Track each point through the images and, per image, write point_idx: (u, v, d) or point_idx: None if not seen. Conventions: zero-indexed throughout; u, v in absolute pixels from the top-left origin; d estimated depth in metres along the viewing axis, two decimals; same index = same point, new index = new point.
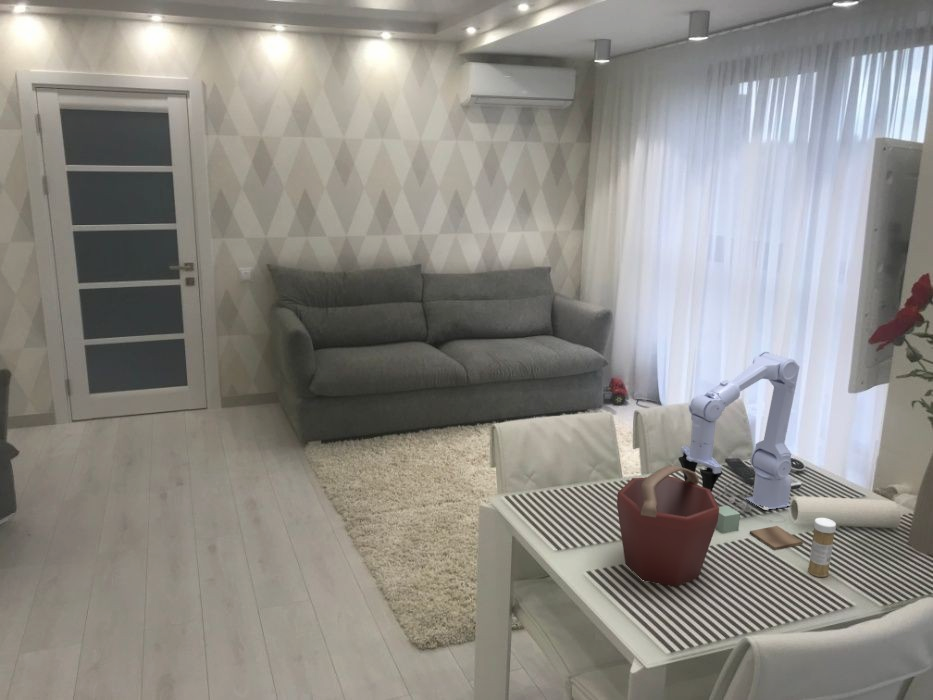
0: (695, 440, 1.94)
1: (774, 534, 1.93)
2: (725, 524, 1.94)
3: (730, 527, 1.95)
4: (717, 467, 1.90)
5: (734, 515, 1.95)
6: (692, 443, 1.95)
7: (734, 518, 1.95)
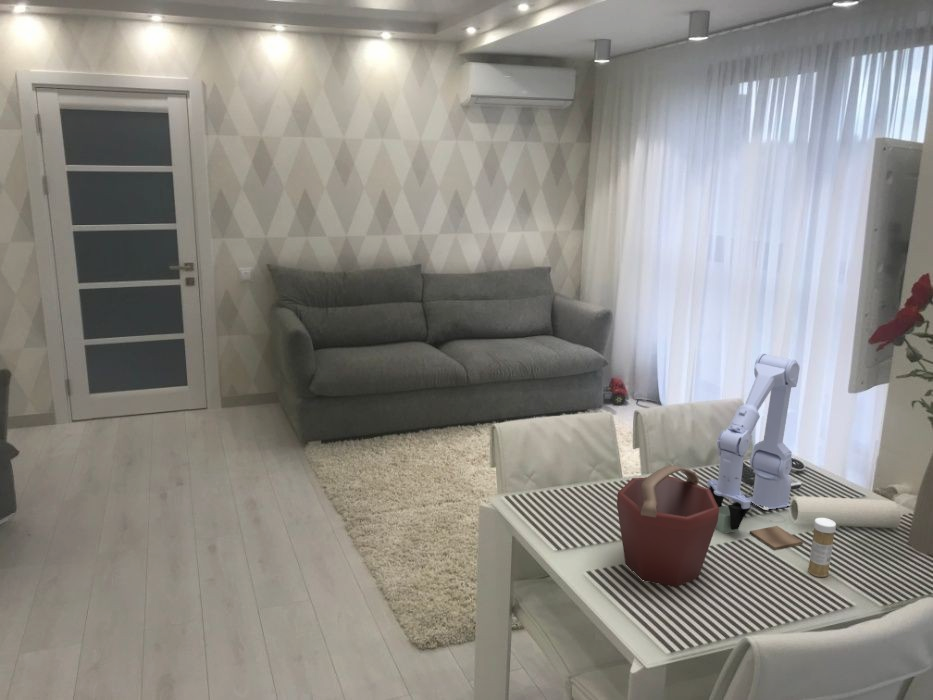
0: (726, 475, 1.92)
1: (774, 534, 1.93)
2: (725, 524, 1.94)
3: None
4: (746, 502, 1.88)
5: None
6: (720, 477, 1.93)
7: None
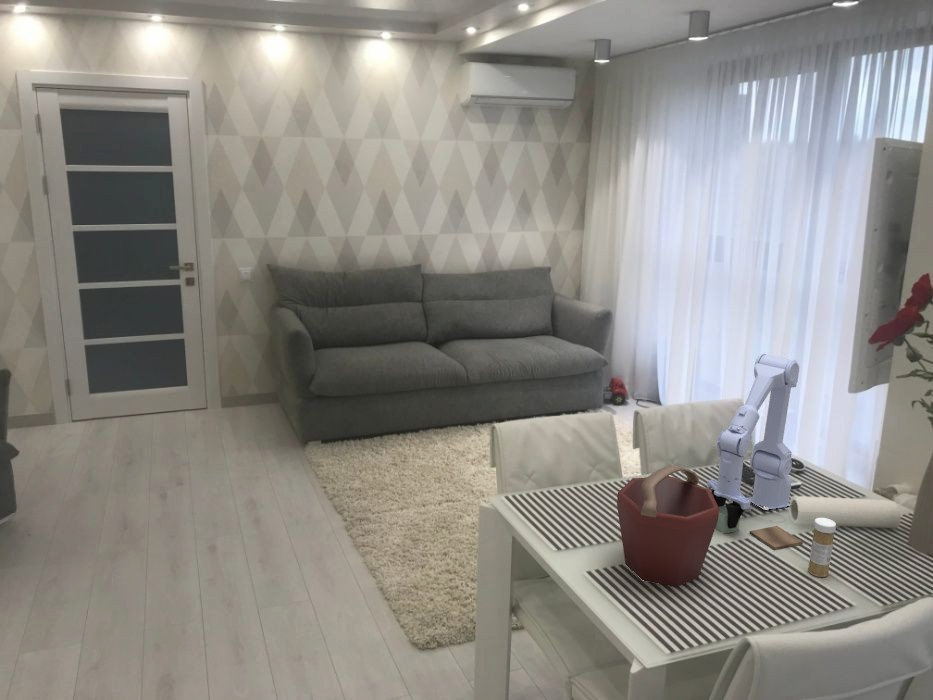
0: (726, 476, 1.92)
1: (774, 534, 1.93)
2: (726, 524, 1.94)
3: None
4: (746, 503, 1.88)
5: None
6: (720, 478, 1.93)
7: None
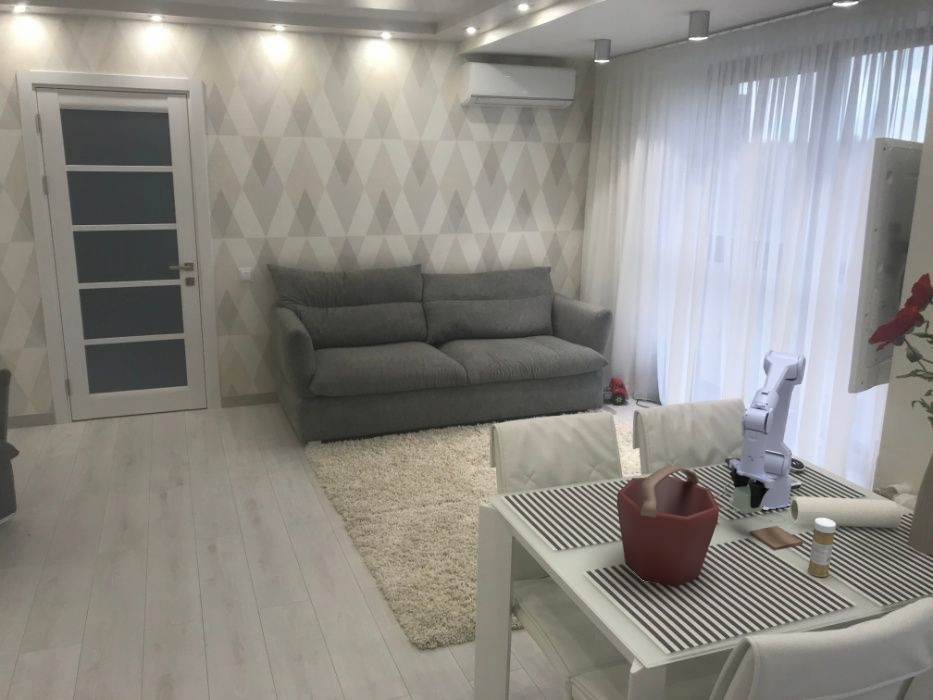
0: (752, 455, 1.87)
1: (774, 534, 1.93)
2: (748, 504, 1.90)
3: None
4: (770, 482, 1.85)
5: None
6: (743, 456, 1.90)
7: None
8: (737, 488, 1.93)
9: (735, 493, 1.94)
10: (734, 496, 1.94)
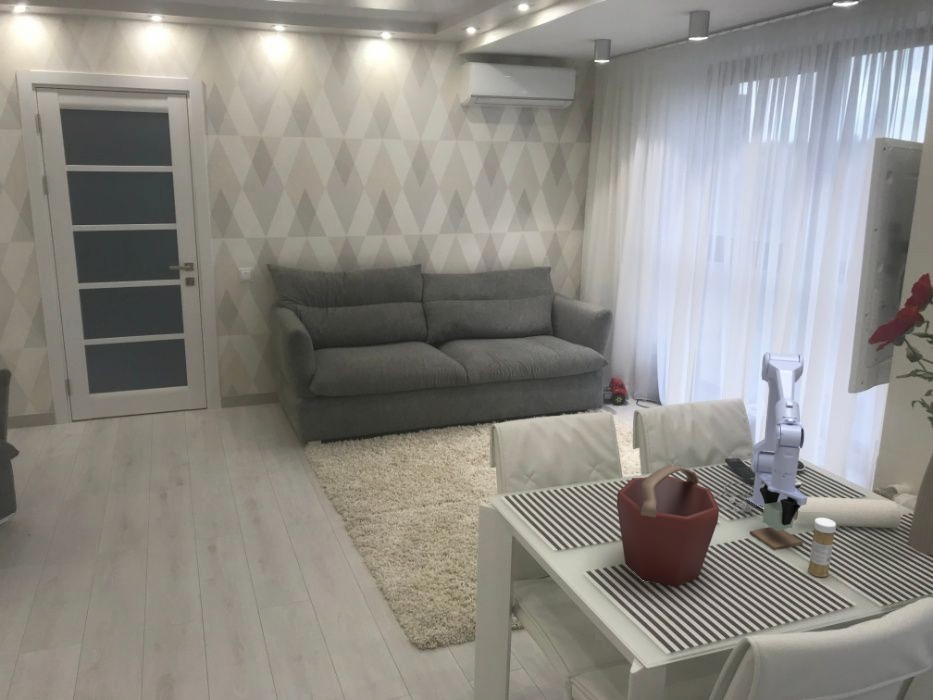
0: (788, 472, 1.84)
1: (774, 534, 1.93)
2: (779, 521, 1.87)
3: None
4: (803, 499, 1.82)
5: None
6: (774, 473, 1.87)
7: None
8: (767, 505, 1.91)
9: (765, 510, 1.91)
10: (764, 512, 1.91)
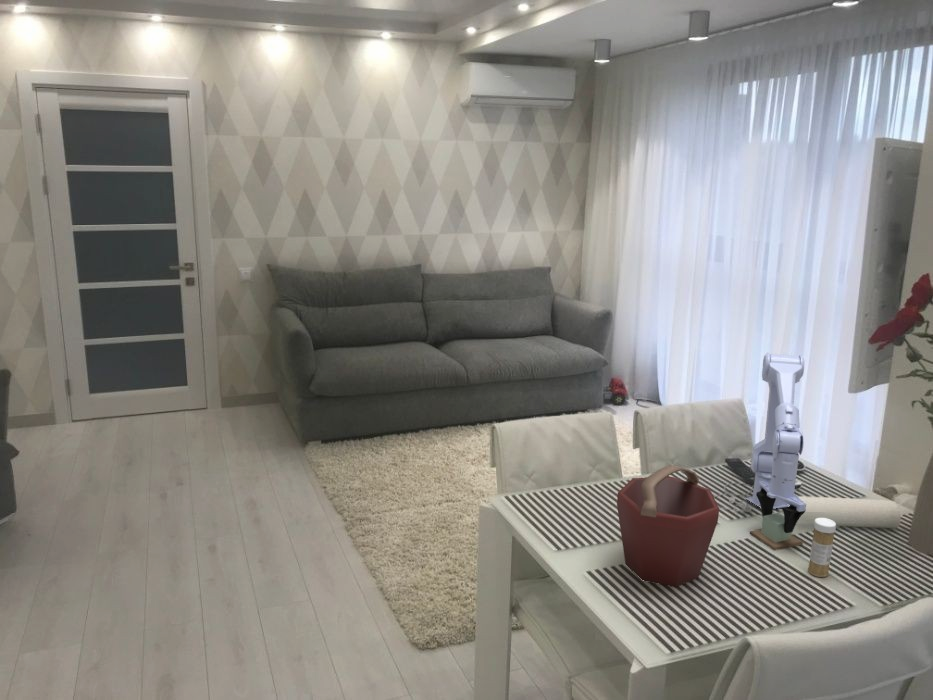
0: (787, 478, 1.85)
1: None
2: (778, 532, 1.88)
3: (783, 535, 1.89)
4: (802, 505, 1.82)
5: None
6: (773, 479, 1.87)
7: None
8: (766, 517, 1.91)
9: (764, 521, 1.92)
10: (763, 524, 1.92)
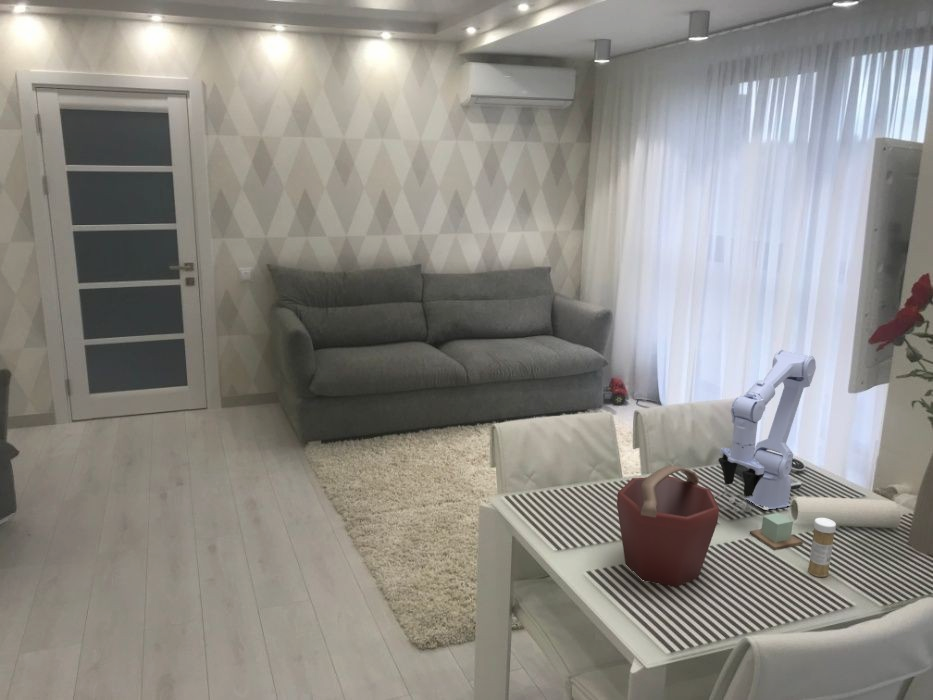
0: (740, 442, 1.93)
1: None
2: (778, 532, 1.88)
3: (783, 535, 1.89)
4: (760, 468, 1.90)
5: (787, 523, 1.89)
6: (734, 444, 1.95)
7: (787, 526, 1.89)
8: (766, 517, 1.91)
9: (764, 521, 1.92)
10: (763, 524, 1.92)
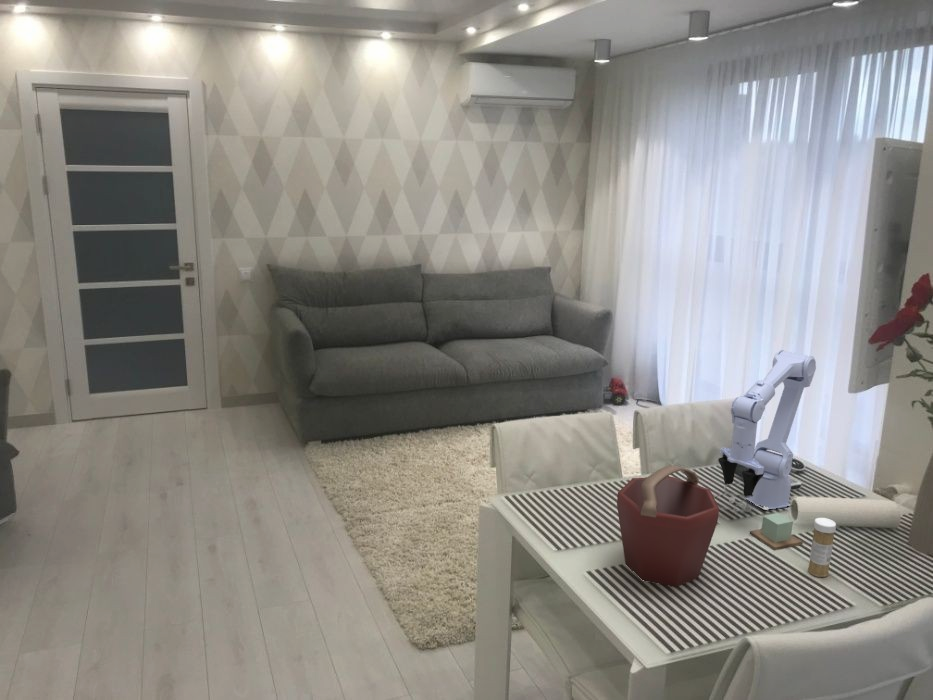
0: (739, 442, 1.93)
1: None
2: (778, 532, 1.88)
3: (783, 535, 1.89)
4: (760, 468, 1.90)
5: (787, 523, 1.89)
6: (733, 444, 1.95)
7: (787, 526, 1.89)
8: (766, 517, 1.91)
9: (764, 521, 1.92)
10: (763, 524, 1.92)
